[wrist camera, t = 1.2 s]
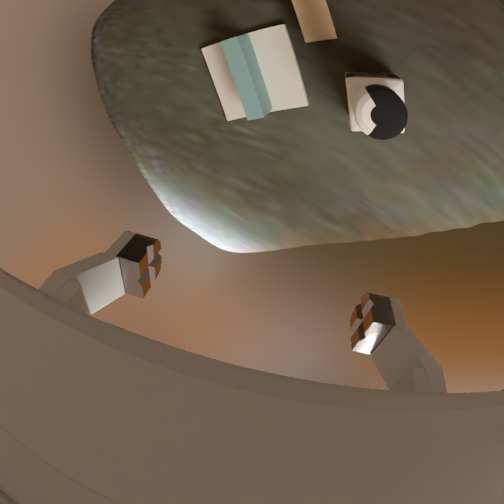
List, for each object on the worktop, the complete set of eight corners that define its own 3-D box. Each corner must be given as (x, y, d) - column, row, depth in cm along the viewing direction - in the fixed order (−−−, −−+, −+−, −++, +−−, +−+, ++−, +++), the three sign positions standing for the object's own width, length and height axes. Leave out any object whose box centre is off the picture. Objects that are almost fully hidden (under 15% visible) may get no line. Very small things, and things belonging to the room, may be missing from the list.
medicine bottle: (393, 72, 29) (413, 86, 21) (396, 118, 33) (413, 148, 25) (344, 71, 31) (345, 83, 23) (349, 117, 36) (351, 145, 28)
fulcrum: (285, 24, 28) (276, 21, 24) (308, 104, 36) (303, 114, 32) (204, 48, 34) (184, 51, 30) (229, 119, 42) (215, 131, 38)
